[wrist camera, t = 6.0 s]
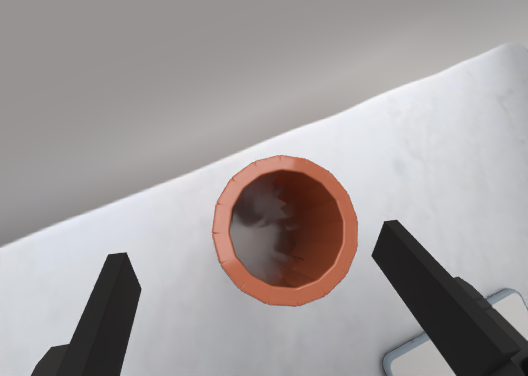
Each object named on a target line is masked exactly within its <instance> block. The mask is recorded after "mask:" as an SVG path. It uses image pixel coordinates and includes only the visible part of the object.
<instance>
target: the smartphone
mask: <svg viewBox="0 0 528 376" xmlns="http://www.w3.org/2000/svg"><path fill="white" fill-rule="evenodd" d="M486 300H487V301H488V302H489V303H490V304H491V305H492V307H493V308H495V309H496V310H497V311H498V312H499V313H500V314H501V315H502V316H503V317H504V318H505V319H506V320H507V321H508V322H509V323H510V324H511V325H512V326H513V327H514V328H515V329H516V330H517V331H518V332H519V333H520V334H521V335H522V336H523V337H524V338H525V339H526V340H527V341H528V308H527V306H526V304H525V302H524V300H523V298H522V296H521V294H520V293H519V292H518V291H516V290H514V289H505V290H503V291H501V292H499V293H497V294H495V295H494V296H492V297H490V298H488V299H486ZM383 367H384V370H385V372H386V375H387V376H456V375H455V373H454V372H453V371H452V369H451V368H450V366H449V365H448V364H447V362H446V361H445V359H444V358H443V356H442V355H441V354H440V352H439V351H438V349H437V348H436V347H435V345H434V344H433V342H432V341H431V339H430V338H429V337H428V335H427V334H426V333H424V334H422V335H420V336H419V337H417V338H415V339H413V340H411V341H409V342H408V343H406V344H404V345H402V346H400V347H398V348H397V349H395V350H393V351H391V352H389V353H388V354H386V356H385V357H384V360H383Z"/></svg>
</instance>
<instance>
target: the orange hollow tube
mask: <svg viewBox="0 0 528 376" xmlns="http://www.w3.org/2000/svg"><path fill="white" fill-rule="evenodd" d="M212 233H213V234H212V237H213V241H214V245H215V249H216V253H217V256H218V260H219V263H220V264H221V267H222V268H223V269H224V271H225V272H226V273H227V275H228V276H229V277H230V278H231V280H232V281H233V282H234V284H235V285H236V286H237V287H238V288H239V289H240V290H241V291H242V292H244V293H246V294H248V295H250V296H252V297H254V298H255V299H257V300H259V301H261V302H263V303H265V304H268V305H277V306H292V307H296V306H301V305H304V304H306V303H309V302H312V301H314V300H317V299H319V298H322V297H324V296H325V295H327V294H328V293H329V292H330V291H331V290H332V289H333V288H334V287H335V286H336V285H337V284H338V283H339V282H340V281H341V280H342V279H343V278H344V277H345V276H346V275H345V274H347V273H348V270H349V268H350V266H351V263H352V261H353V258H354V256H355V253H356V251H357V246H358V221H357V216H356V213H355V211H354V208H353V205H352V202H351V200H350V197H349V195H348V194H347V191H346V190H345V189H344V188H343V186H342V185H341V184H340V183H339V182H338V181H337V179H336V178H335V177H334V176H333V175H332V174H331V173H330V172H329V171H327V170H326V169H324V168H322V167H320V166H319V165H317V164H315V163H313V162H311V161H310V160H306V159H305V158H298V157H291V156H284V155H280V156H279V155H278V156H273V157H269V158H265V159H261V160H257V161H255V162H252V163H251V164H249V165H248V166H247V167H245V168H244V169H242V170H241V171H240V172H238V173H237V174H236V175H234V176H233V177H232V179H230V180H229V182H228V184H227V185H226V187H225V189H224V190H223V192H222V194H221V195H220V197H219V199H218V201H217V204H216V206H215V213H214V220H213V227H212Z"/></svg>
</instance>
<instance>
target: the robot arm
mask: <svg viewBox="0 0 528 376" xmlns="http://www.w3.org/2000/svg"><path fill="white" fill-rule="evenodd" d="M372 257H373V259H374V260H375V262H376V263H377V264H378V266H379V267H380V269H381V270H382V272H383V273H384V274H385V276H386V277H387V279H388V280H389V281H390V283H391V284H392V286H393V287H394V289H395V290H396V291H397V293H398V294H399V296H400V297H401V298H402V300H403V301H404V303H405V304H406V306H407V307H408V308H409V310H410V311H411V313H412V314H413V315H414V317H415V318H416V320H417V321H418V322H419V324H420V325H421V327H422V328H423V330H424V331H425V332H426V334H427V335H428V337H429V338H430V339H431V341H432V342H433V344H434V345H435V347H436V348H437V349H438V351H439V352H440V354H441V355H442V356H443V358H444V359H445V361H446V362H447V364H448V365H449V366H450V368H451V369H452V371H453V372H454V373H455V375H456V376H528V341H527V340H526V339H525V338H524V337H523V336H522V335H521V334H520V333H519V332H518V331H517V330H516V329H515V328H514V327H513V326H512V325H511V324H510V323H509V322H508V321H507V320H506V319H505V318H504V317H503V316H502V315H501V314H500V313H499V312H498V311H497V310H496V309H495V308H493V307H492V305H491V304H490V303H489V302H488V301H487V300H486V299H484V298H483V296H482V295H481V294H480V293H479V292H478V291H477V290H476V289H475V288H474V287H473V286H472V285H470V284H469V283H467V282H466V281H464V280H463V279H461V278H460V277H455V278H453V277H452V276H451V275H450V274H449V273H448V272H447V271H446V270H445V269H444V268H443V267H442V266H441V265H440V264H439V263H438V262H437V261H436V260H435V259H434V258H433V257H432V256H431V254H430V253H429V252H428V251H427V250H426V249H425V248H424V247H423V246H422V245H421V244H420V243H419V242H418V241H417V240H416V239H415V238H414V237H413V236H412V235H411V234H410V233H409V232H408V231H407V230H406V229H405V228H404V227H403V226H402V225H401V223H400V222H399V221H398V220H391V221H384V224H383V226H382V229H381V232H380V234H379V237H378V240H377V243H376V245H375V248H374V251H373V253H372ZM140 293H141V287H140V284H139V282H138V279H137V277H136V275H135V272H134V270H133V267H132V265H131V262H130V260H129V258H128V255H127V253H126V252H125V253H117V254H109V255H108V256H107V259H106V261H105V263H104V265H103V268H102V270H101V272H100V275H99V277H98V279H97V282H96V284H95V286H94V289H93V291H92V293H91V295H90V298H89V300H88V302H87V305H86V307H85V309H84V312H83V314H82V316H81V319H80V321H79V323H78V325H77V328H76V330H75V332H74V335H73V337H72V339H71V342H70V344H67V345H61V346H55V347H51V348H50V349H49V351H48V352H47V353H46V354H45V355H44V357H43V358H42V359H41V360H40V361H39V362H38V364H37V365H36V367H35V369H34V371H33V373H32V375H31V376H120V373H121V369H122V365H123V361H124V357H125V353H126V349H127V345H128V341H129V337H130V333H131V329H132V325H133V321H134V317H135V313H136V309H137V305H138V301H139V297H140Z"/></svg>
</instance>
